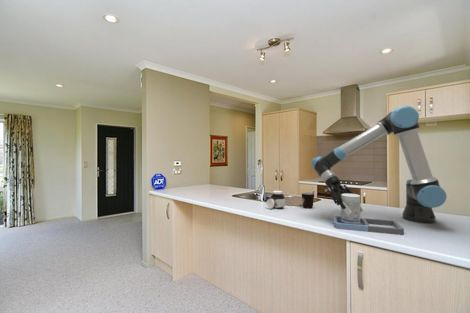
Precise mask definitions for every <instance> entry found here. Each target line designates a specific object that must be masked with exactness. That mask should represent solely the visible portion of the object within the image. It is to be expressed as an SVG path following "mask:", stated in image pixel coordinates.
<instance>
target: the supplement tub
mask: <svg viewBox="0 0 470 313" xmlns="http://www.w3.org/2000/svg"><path fill="white" fill-rule="evenodd" d="M340 195H341V199H342V202H345V204H346V205H347V206H348V208H349V209H350V210H351V212H352V213H351V214H349V215H347V214H346V212H345V211H344V210H343V209H342V207H341V206H340V216H341V221H340V222H341V223H345V224H357V225H360V224H361V223H360V218H361V213H362V212H361V207H362V206H361V204H362V202H361V195H360V194H356V193H353V194H348V193H346V194H341V193H340Z"/></svg>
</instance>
